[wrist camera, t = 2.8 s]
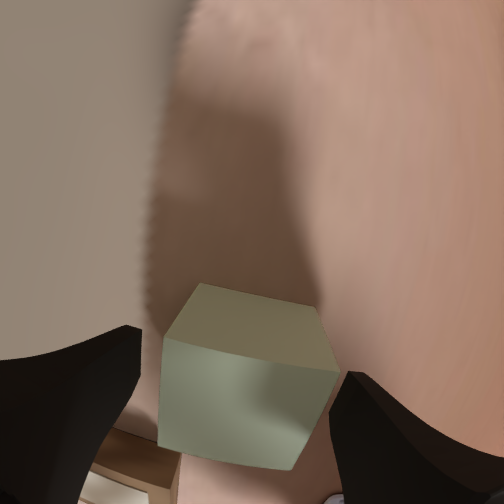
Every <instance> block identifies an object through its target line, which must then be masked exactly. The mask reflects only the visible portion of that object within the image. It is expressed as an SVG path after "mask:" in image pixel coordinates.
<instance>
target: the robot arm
mask: <svg viewBox="0 0 504 504" xmlns="http://www.w3.org/2000/svg"><path fill="white" fill-rule="evenodd" d="M141 343H142V329H139V328H136V327H132V326H129V325H124V326H121V327H118V328H116V329H113V330H111V331H108V332H106V333H104V334H101V335H99V336H96V337H94V338H91V339H89V340H86V341H84V342H81V343H78V344H75V345H72V346H69V347H67V348H63V349H60V350H57V351H54V352H50V353H46V354H42V355H38V356H32V357H27V358H19V359H11V360H0V504H77V503H78V500H79V497H80V494H81V491H82V488H83V486H84V483H85V481H86V478H87V475H88V473H89V470H90V468H91V466H92V463H93V461H94V459H95V457H96V454H97V452H98V450H99V448H100V446H101V444H102V442H103V441H104V439H105V437H106V436H107V434H108V433H109V431H110V429H111V428H112V426H113V425H114V423H115V422H116V420H117V418H118V417H119V415H120V414H121V412H122V411H123V409H124V407H125V406H126V404H127V403H128V401H129V399H130V398H131V396H132V394H133V391H134V389H135V387H136V385H137V382H138V380H139V378H140V376H141ZM329 425H330V435H331V440H332V444H333V449H334V453H335V457H336V462H337V466H338V470H339V474H340V479H341V483H342V489H343V494H337V495H333V496H330V497H329V498H328V499H327V500H326V502H325V503H324V504H504V458H503V457H498V456H494V455H491V454H488V453H484V452H481V451H478V450H476V449H473V448H471V447H468V446H466V445H464V444H462V443H459V442H457V441H455V440H453V439H451V438H449V437H448V436H446V435H444V434H442V433H441V432H439V431H437V430H436V429H434V428H433V427H431V426H429V425H428V424H427V423H425V422H424V421H422V420H421V419H420V418H418V417H417V416H416V415H414V414H413V413H412V412H410V411H409V410H408V409H407V408H405V407H404V406H403V405H402V404H401V403H399V402H398V401H397V400H396V399H395V398H394V397H392V396H391V395H390V394H389V393H388V392H387V391H386V390H384V389H383V388H382V387H381V386H380V385H379V384H378V383H376V382H375V381H374V380H373V379H372V378H370V377H369V376H368V375H366V374H365V373H363V372H353V371H348V373H347V375H346V377H345V379H344V382H343V384H342V386H341V388H340V390H339V392H338V395H337V397H336V399H335V401H334V403H333V405H332V407H331V409H330V411H329Z"/></svg>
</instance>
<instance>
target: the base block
mask: <svg viewBox="0 0 504 504" xmlns="http://www.w3.org/2000/svg"><path fill="white" fill-rule="evenodd" d="M181 455H182V453H181V452H177V451H174V450H170V449H167V448H163V447H160V446H158V443H155V442H152V441H149V440H146V439H143V438H140V437H137V436H134V435H131V434H128V433H126V432H123V431H120V430H118V429H115V428H113V427H112V428H111V429H110V431H109V433H108V434H107V436H106V437H105V439H104V441H103V442H102V444H101V446H100V448H99V450H98V452H97V454H96V457H95V459H94V461H93V463H92V466H91V468H90V470H89V473H88V475H87V478H86V481H85V483H84V486H83V488H82V491H81V494H80V497H79V500H81V501H83V502H85V503H87V504H177V496H178V485H179V474H180V464H181Z"/></svg>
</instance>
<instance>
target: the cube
mask: <svg viewBox="0 0 504 504" xmlns="http://www.w3.org/2000/svg"><path fill="white" fill-rule="evenodd" d="M340 373H341V371H340V369H339V366H338V363H337V361H336V358H335V356H334V353H333V351H332V348H331V346H330V343H329V341H328V338H327V336H326V333H325V331H324V328H323V326H322V323H321V321H320V318H319V316H318V313H317V311H316V309H315V307H313V306H308V305H302V304H297V303H292V302H287V301H282V300H278V299H273V298H268V297H263V296H258V295H254V294H249V293H245V292H240V291H235V290H231V289H226V288H222V287H218V286H213V285H209V284H205V283H199V284H198V286H197V287H196V289H195V290H194V292H193V293H192V295H191V296H190V298H189V299H188V301H187V302H186V304H185V305H184V307H183V308H182V310H181V311H180V313H179V314H178V316H177V317H176V319H175V320H174V322H173V323H172V325H171V326H170V328H169V330H168V331H167V333H166V334H165V336H164V338H163V349H162V361H161V375H160V391H159V411H158V446H160V447H163V448H167V449H170V450H174V451H177V452H181V453H185V454H189V455H193V456H197V457H202V458H206V459H211V460H216V461H221V462H226V463H232V464H238V465H244V466H251V467H259V468H267V469H277V470H289V471H291V469H292V468H293V466H294V464H295V462H296V461H297V459H298V457H299V455H300V454H301V452H302V450H303V448H304V446H305V445H306V443H307V441H308V439H309V437H310V435H311V433H312V431H313V430H314V428H315V426H316V424H317V422H318V420H319V418H320V416H321V414H322V412H323V410H324V408H325V406H326V403H327V401H328V399H329V397H330V395H331V393H332V391H333V388H334V386H335V384H336V382H337V380H338V377H339V375H340Z"/></svg>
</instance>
